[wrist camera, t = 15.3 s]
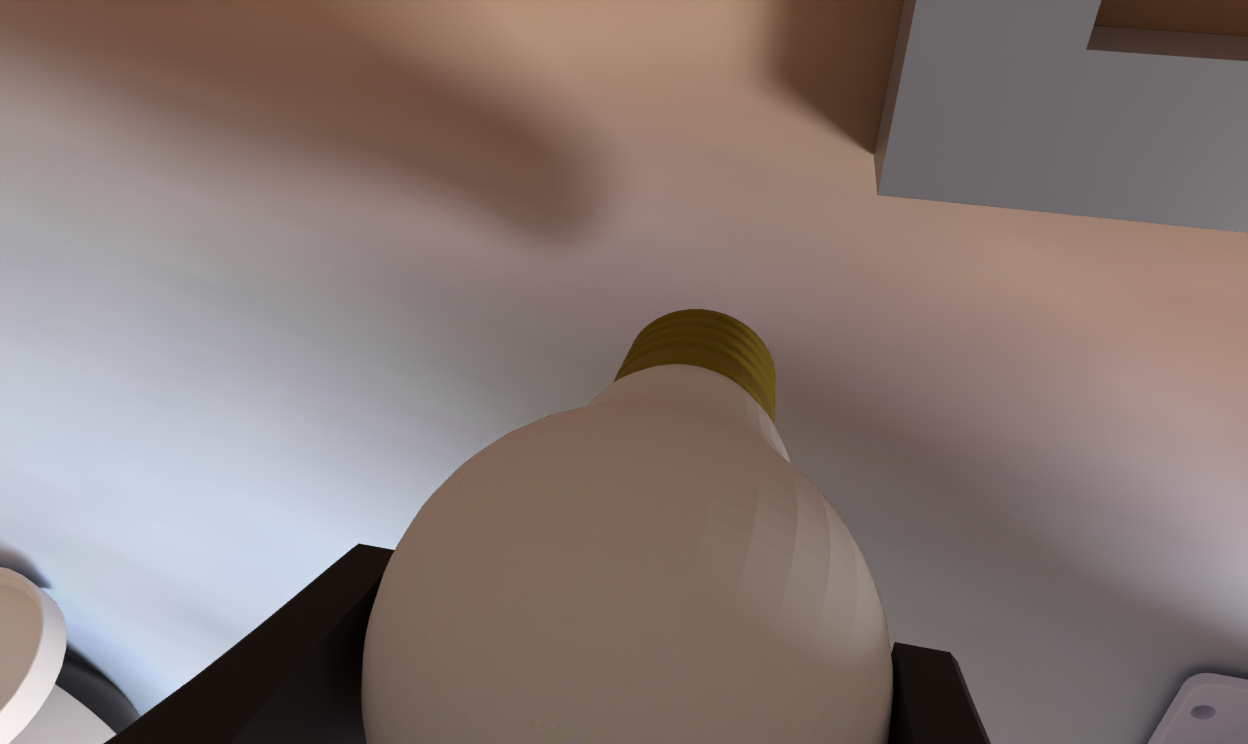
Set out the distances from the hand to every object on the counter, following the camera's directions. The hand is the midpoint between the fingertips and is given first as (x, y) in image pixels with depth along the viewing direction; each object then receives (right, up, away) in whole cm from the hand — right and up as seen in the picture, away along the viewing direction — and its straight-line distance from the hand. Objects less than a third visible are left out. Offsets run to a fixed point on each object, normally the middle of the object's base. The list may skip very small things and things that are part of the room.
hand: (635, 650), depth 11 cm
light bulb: (+1, +4, +5) cm, 7 cm away
